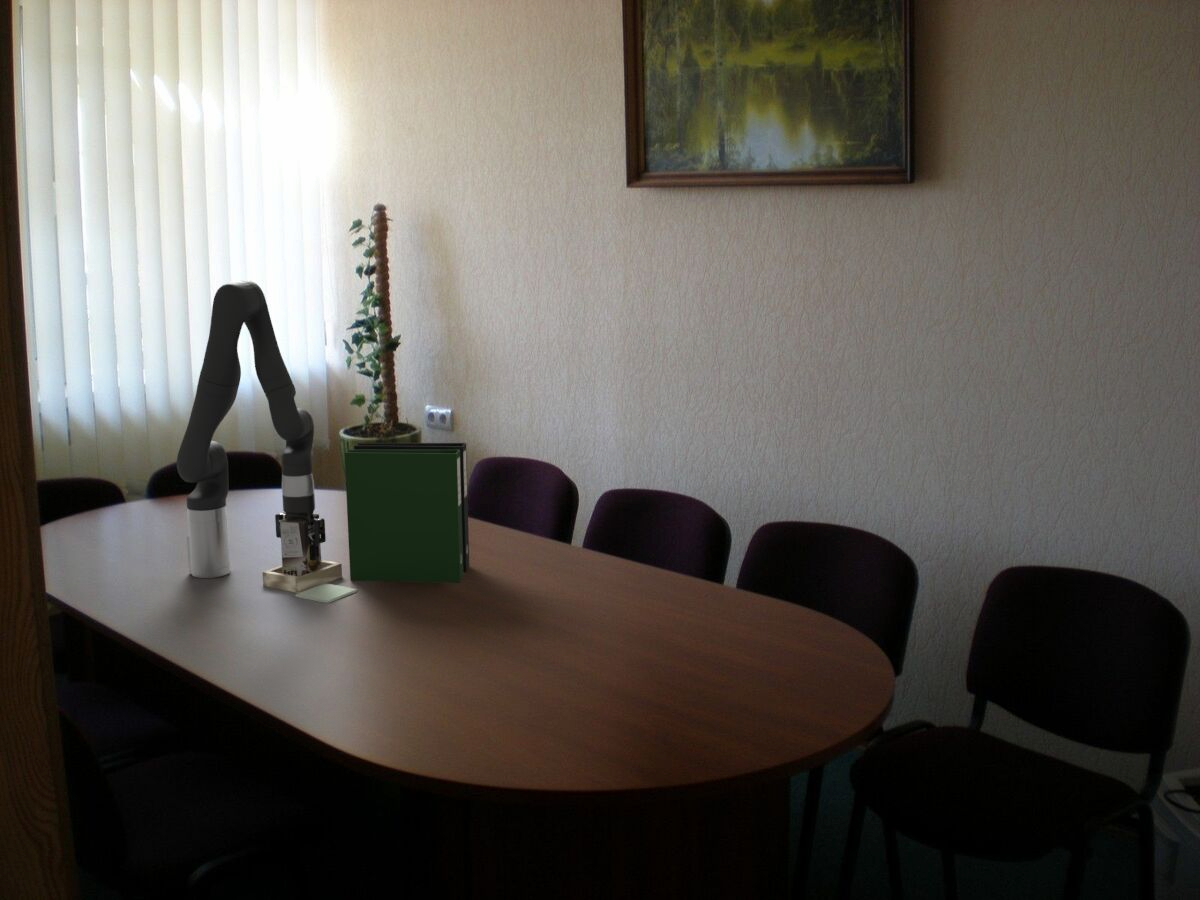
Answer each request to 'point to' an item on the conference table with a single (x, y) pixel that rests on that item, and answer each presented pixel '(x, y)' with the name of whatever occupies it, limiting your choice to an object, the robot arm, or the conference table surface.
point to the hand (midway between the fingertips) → (301, 557)
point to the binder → (407, 512)
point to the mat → (326, 593)
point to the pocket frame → (302, 577)
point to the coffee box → (297, 547)
